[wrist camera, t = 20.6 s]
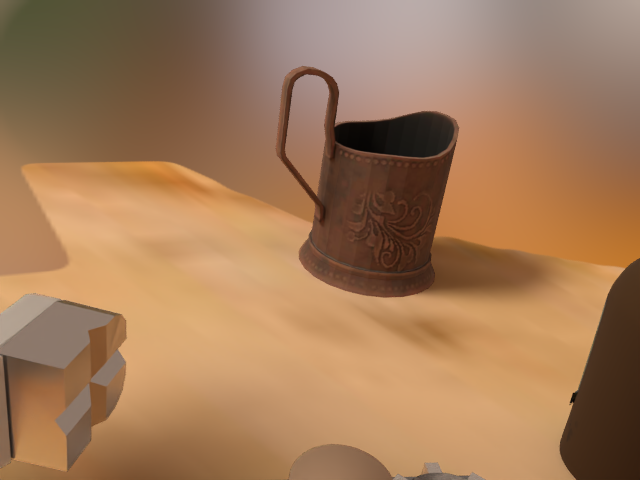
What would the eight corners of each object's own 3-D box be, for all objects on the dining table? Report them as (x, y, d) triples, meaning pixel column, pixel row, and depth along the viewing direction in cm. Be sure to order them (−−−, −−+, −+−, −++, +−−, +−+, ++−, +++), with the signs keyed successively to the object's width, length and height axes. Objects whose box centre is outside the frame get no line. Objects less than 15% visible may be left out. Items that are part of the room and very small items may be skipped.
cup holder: (463, 289, 79) (515, 96, 69) (292, 310, 68) (324, 85, 58) (389, 230, 94) (423, 64, 84) (240, 239, 83) (258, 50, 73)
